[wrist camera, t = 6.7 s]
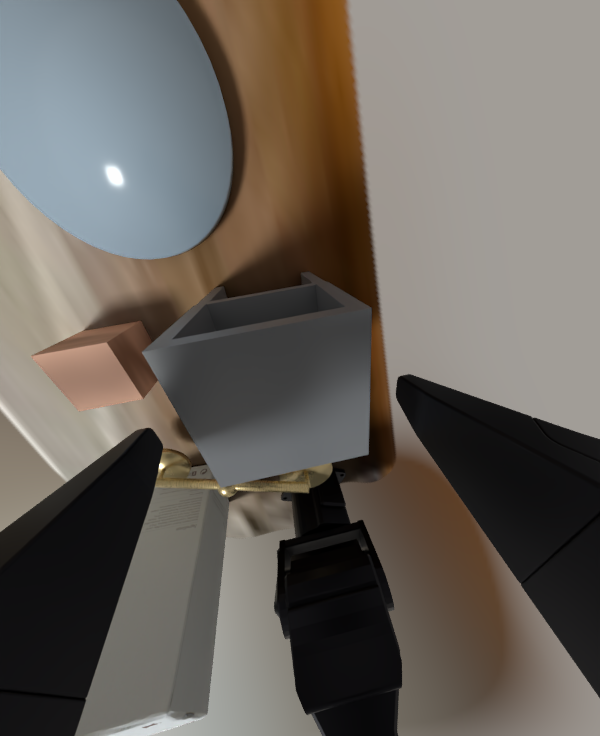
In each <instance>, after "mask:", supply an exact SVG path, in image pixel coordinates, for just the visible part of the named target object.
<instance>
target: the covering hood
mask: <svg viewBox="0 0 600 736" xmlns="http://www.w3.org/2000/svg"><path fill="white" fill-rule="evenodd" d="M315 285H316V294H317V304H318V312H315V313H309V314H304V315H299V316H294V317H288V318H283V319H278V320H272V321H267V322H262V323H257V324H251V325H246V326H241V327H236V328H230V329H225V330H220V331H216V329H215V326H214V323H213V321H212V318H211V315H210V312H209V310H208V307H207V304H201V305H195V306H193V307H192V308H191V309H190V310H188V311H187V312H186V313H185V314H184V315H183V316H182V317H181V318H179V319H178V320H177V321H176V322H175V323H174V324H173V325H172V326H170V327H169V328H168V329H167V330H166V331H165V332H164V333H163V334H161V335H160V336H159V337H158V338H157V339H156V340H155V341H154V342H152V343H151V344H150V345H149V346H148V347H147V348H146V349H145V350H143V351H142V353H143V355H144V357H145V359H146V360H147V362H148V364H149V365H150V367H151V369H152V371H153V372H154V374H155V376H156V377H157V379H158V381H159V383H160V384H161V386H162V388H163V390H164V391H165V393H166V395H167V396H168V398H169V400H170V402H171V403H172V405H173V407H174V408H175V410H176V412H177V414H178V415H179V417H180V419H181V420H182V422H183V424H184V426H185V427H186V429H187V431H188V432H189V434H190V436H191V438H192V439H193V441H194V443H195V444H196V446H197V448H198V450H199V451H200V453H201V455H202V456H203V458H204V460H205V462H206V463H207V465H208V467H209V468H210V470H211V472H212V474H213V475H214V477H215V479H216V480H217V482H218V484H219V486H220V487H221V488H222V487H227V486H231V485H236V484H240V483H245V482H249V481H253V480H258V479H262V478H267V477H271V476H276V475H280V474H284V473H289V472H293V471H298V470H302V469H307V468H311V467H315V466H320V465H324V464H329V463H333V462H338V461H342V460H346V459H351V458H355V457H360V456H364V455H369V412H370V367H371V322H372V308H371V307H369V306H368V305H366V304H364V303H363V302H361V301H359V300H358V299H356V298H354V297H353V296H351V295H349V294H348V293H346V292H344V291H342V290H341V289H339V288H337V287H336V286H334V285H332V284H331V283H329V282H327V281H326V282H321V283H315Z"/></svg>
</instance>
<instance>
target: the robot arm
mask: <svg viewBox="0 0 600 736" xmlns="http://www.w3.org/2000/svg"><path fill="white" fill-rule="evenodd" d="M396 398H397V401H398V402H399V404H400V406H401V408H402V410H403V411H404V413H405V415H406V417H407V419H408V420H409V422H410V424H411V426H412V428H413V429H414V431H415V433H416V435H417V436H418V438H419V439H420V441H421V442H422V444H423V445H424V447H425V448H426V449H427V451H428V452H429V454H430V455H431V456H432V458H433V459H434V461H435V462H436V464H437V465H438V467H439V468H440V469H441V471H442V472H443V474H444V475H445V477H446V478H447V479H448V481H449V482H450V484H451V485H452V487H453V488H454V490H455V491H456V492H457V494H458V495H459V497H460V498H461V499H462V501H463V502H464V504H465V505H466V507H467V508H468V510H469V511H470V512H471V514H472V515H473V517H474V518H475V520H476V521H477V522H478V524H479V525H480V527H481V528H482V530H483V531H484V532H485V534H486V535H487V537H488V538H489V540H490V541H491V542H492V544H493V545H494V547H495V548H496V550H497V551H498V553H499V554H500V555H501V557H502V558H503V560H504V561H505V563H506V564H507V565H508V567H509V568H510V570H511V571H512V573H513V574H514V576H515V577H516V578H517V580H518V581H519V582H520V583H521V586H522V587H523V589H524V590H525V592H526V593H527V595H528V596H529V597H530V599H531V600H532V602H533V603H534V605H535V606H536V607H537V609H538V610H539V612H540V613H541V614H542V616H543V617H544V619H545V620H546V622H547V623H548V625H549V626H550V628H551V629H552V630H553V632H554V633H555V635H556V636H557V638H558V639H559V640H560V642H561V643H562V645H563V646H564V647H565V649H566V650H567V652H568V653H569V654H570V656H571V657H572V659H573V660H574V662H575V663H576V665H577V666H578V668H579V669H580V670H581V672H582V673H583V675H584V676H585V678H586V679H587V681H588V682H589V683H590V685H591V686H592V688H593V689H594V691H595V692H596V693H597V695H598V696H599V698H600V439H597V438H594V437H590V436H587V435H584V434H581V433H578V432H575V431H572V430H569V429H566V428H563V427H560V426H557V425H554V424H551V423H549V422H546V421H543V420H540V419H537V418H532V417H531V416H528V415H525V414H522V413H520V412H516V411H514V410H511V409H508V408H505V407H503V406H500V405H497V404H494V403H491V402H488V401H485V400H483V399H479V398H477V397H474V396H471V395H468V394H465V393H462V392H460V391H457V390H454V389H451V388H448V387H445V386H442V385H439V384H436V383H434V382H431V381H428V380H425V379H422V378H419V377H416V376H414V375H410V374H408V375H403V376H400V377H398V380H397V388H396ZM162 452H163V445H162V442H161V441H160V439H159V438H158V436H157V435H156V434H155V432H154V431H153V429H151V428H145V429H140V430H137V431H135V432H134V433H132V434H131V435H130V436H128V437H127V438H126V439H124V440H123V441H122V442H120V443H119V444H118V445H116V446H115V447H114V448H112V449H111V450H109V451H108V452H107V453H105V454H104V455H103V456H101V457H100V458H99V459H97V460H96V461H95V462H93V463H92V464H91V465H89V466H88V467H87V468H85V469H84V470H83V471H81V472H80V473H79V474H77V475H76V476H75V477H73V478H72V479H71V480H69V481H68V482H67V483H65V484H64V485H63V486H61V487H60V488H59V489H57V490H56V491H55V492H53V493H52V494H51V495H49V496H48V497H47V498H45V499H44V500H43V501H41V502H40V503H39V504H37V505H36V506H35V507H33V508H32V509H30V511H28V512H26V513H25V514H24V515H22V516H21V517H20V518H18V519H17V520H16V521H14V522H13V523H12V524H10V525H9V526H8V527H6V528H5V529H4V530H3V531H1V532H0V736H75V734H76V731H77V728H78V725H79V721H80V718H81V715H82V712H83V709H84V706H85V703H86V698H87V696H88V693H89V690H90V687H91V684H92V681H93V678H94V675H95V672H96V668H97V665H98V662H99V659H100V656H101V653H102V650H103V647H104V644H105V641H106V638H107V635H108V632H109V629H110V625H111V622H112V619H113V616H114V613H115V610H116V607H117V604H118V601H119V598H120V595H121V592H122V589H123V585H124V582H125V579H126V576H127V573H128V570H129V567H130V564H131V561H132V558H133V555H134V552H135V549H136V545H137V542H138V539H139V536H140V533H141V530H142V527H143V524H144V521H145V518H146V515H147V512H148V509H149V505H150V502H151V499H152V496H153V492H154V488H155V484H156V480H157V475H158V470H159V466H160V461H161V457H162ZM345 476H346V473H345V471H344V470H341V469H333V468H332V473H331V475H330V477H329V478H328V479H327V480H326V481H325V482H323V483H322V484H320V485H318V486H316V487H313V488H310V489H309V493H287V492H283V493H282V495H281V499H282V500H283V501H292V509H293V518H294V527H295V536H296V538H293V539H289V540H281V541H280V548H279V549H278V551H277V558H278V574H277V575H278V577H277V584H276V593H275V602H274V609H275V613H276V614H277V615H278V616H279V618H280V621H281V625H282V630H283V634H284V637H285V639H289V638H290V642H291V651H292V660H293V669H294V677H295V686H296V692H297V694H298V697H299V699H300V702H301V704H302V707H303V709H304V711H305V713H306V714H307V715H308V714H312V716H313V718H314V720H315V722H316V724H317V726H318V728H319V730H320V732H321V734H322V736H398V733H397V719H398V696H399V689H400V688H401V687H402V662H401V657H400V649H399V645H398V642H397V639H396V635H395V632H394V629H393V625H392V622H391V619H390V616H389V612H388V611H392V610H394V604H393V599H392V595H391V592H390V588H389V585H388V582H387V579H386V576H385V573H384V571H383V568H382V565H381V563H380V560H379V558H378V555H377V553H376V551H375V548H374V546H373V544H372V541H371V539H370V536H369V534H368V531H367V529H366V527H365V525H364V522H363V520H359V521H357V522H356V523H352V524H351V523H350V520H349V517H348V514H347V510H346V507H345V505H346V503H345V500H344V498H343V494H342V491H341V488H340V483H341V481H342V480H343V479H344V477H345Z"/></svg>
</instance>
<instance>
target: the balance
mask: <svg viewBox="0 0 600 736" xmlns="http://www.w3.org/2000/svg"><path fill="white" fill-rule="evenodd" d="M190 470H191V461H190V459H189V458H188V457H187V456H186V455H184V454H183V453H181V452H179V451H176V450H172V449H163V452H162V457H161V461H160V466H159V470H158V475H157V480H156V484H155V487H158V488H184V489H210V490H218V492H219V494H220V495H221V496H223V497H231V496H233V495H234V494H236V492H237V491H261V492H287V493H309V489H310V488H313V487H316V486H318V485H320V484H322V483H323V482H325V481H326V480H327V479H328V478H329V477H330V475H331V473H332V463H329V464H324V465H320V466H315V467H311V468H307V469H302V470H298V471H293V472H289V473H284V474H280V475H279V479H280V481H263V480H253V481H249V482H245V483H240V484H236V485H231V486H227V487H222V488H221V487H220V486H219V484H218V482H217V480H216V479H196V478H187V477H188V475H189V473H190Z"/></svg>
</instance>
